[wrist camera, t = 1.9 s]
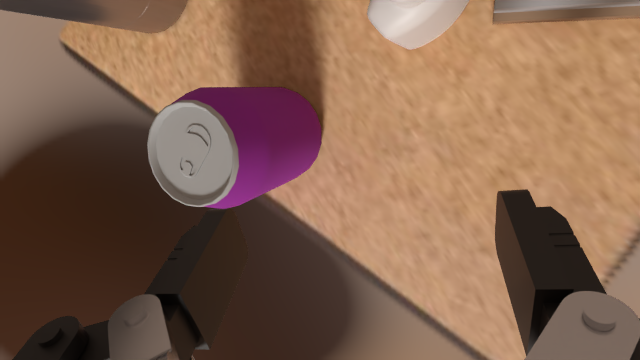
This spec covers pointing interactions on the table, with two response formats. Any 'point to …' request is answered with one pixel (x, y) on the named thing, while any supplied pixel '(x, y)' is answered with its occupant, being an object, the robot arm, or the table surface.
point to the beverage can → (232, 144)
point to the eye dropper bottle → (414, 19)
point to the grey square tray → (563, 10)
